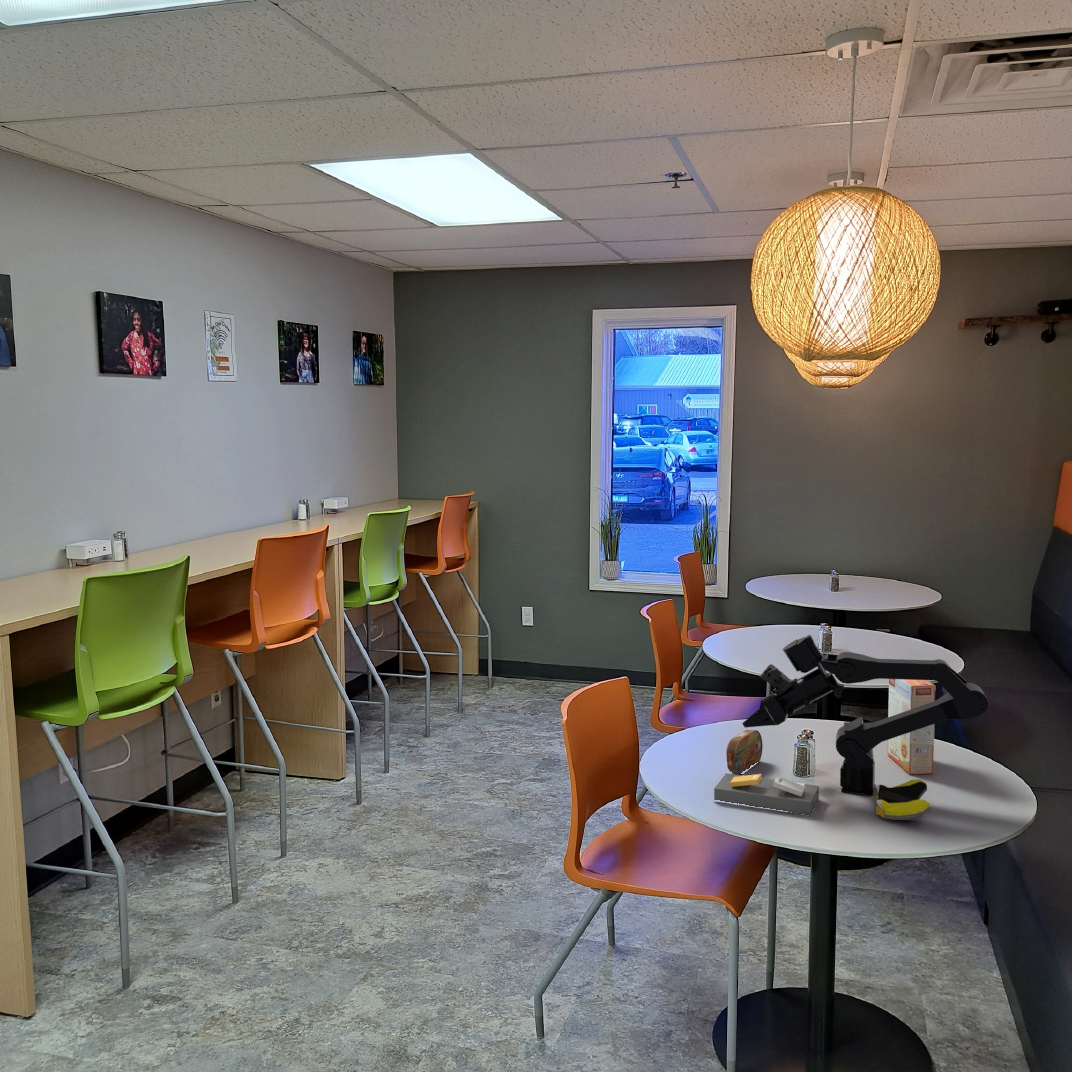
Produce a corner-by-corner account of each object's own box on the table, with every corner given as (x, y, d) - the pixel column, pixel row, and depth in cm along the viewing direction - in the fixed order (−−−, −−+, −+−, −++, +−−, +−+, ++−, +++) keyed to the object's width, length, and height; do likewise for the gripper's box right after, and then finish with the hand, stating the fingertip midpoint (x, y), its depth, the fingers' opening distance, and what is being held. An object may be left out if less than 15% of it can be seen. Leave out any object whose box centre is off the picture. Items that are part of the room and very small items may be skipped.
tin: (736, 779, 212) (736, 743, 211) (723, 776, 214) (723, 740, 213) (763, 761, 224) (763, 726, 223) (751, 758, 226) (751, 724, 225)
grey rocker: (804, 790, 195) (805, 786, 195) (801, 796, 192) (802, 792, 192) (776, 780, 198) (777, 775, 198) (772, 786, 195) (774, 781, 194)
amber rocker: (762, 778, 199) (761, 773, 199) (758, 784, 196) (757, 779, 196) (735, 781, 202) (734, 776, 202) (731, 786, 199) (729, 782, 199)
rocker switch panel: (818, 799, 199) (818, 783, 199) (810, 816, 190) (810, 799, 190) (726, 786, 208) (726, 771, 207) (714, 802, 199) (714, 786, 198)
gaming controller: (926, 803, 196) (875, 797, 200) (926, 777, 196) (876, 772, 199) (930, 831, 182) (876, 825, 185) (931, 803, 182) (876, 798, 185)
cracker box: (935, 775, 212) (937, 684, 210) (908, 775, 212) (909, 685, 210) (911, 754, 226) (913, 670, 224) (886, 755, 226) (887, 670, 224)
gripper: (793, 652, 216) (736, 685, 221) (782, 661, 198) (719, 696, 203) (820, 695, 213) (761, 727, 218) (810, 707, 196) (747, 741, 201)
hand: (747, 722), depth 210 cm, fingers open, 9 cm apart
